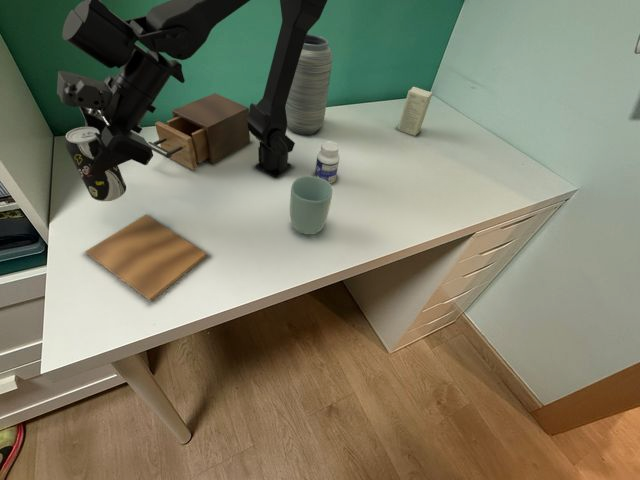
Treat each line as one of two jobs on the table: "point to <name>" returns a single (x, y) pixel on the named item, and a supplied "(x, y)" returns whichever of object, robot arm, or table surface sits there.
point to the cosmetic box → (414, 110)
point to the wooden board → (147, 256)
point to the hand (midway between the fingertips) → (86, 165)
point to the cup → (310, 204)
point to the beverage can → (82, 153)
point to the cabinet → (218, 124)
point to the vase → (310, 86)
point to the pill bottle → (327, 161)
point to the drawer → (181, 142)
